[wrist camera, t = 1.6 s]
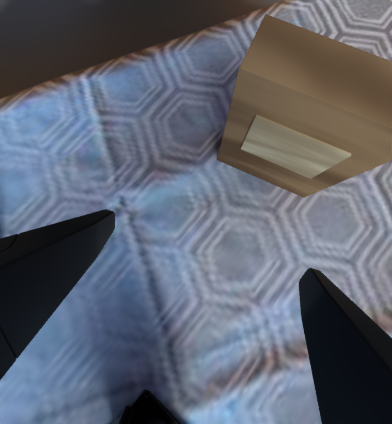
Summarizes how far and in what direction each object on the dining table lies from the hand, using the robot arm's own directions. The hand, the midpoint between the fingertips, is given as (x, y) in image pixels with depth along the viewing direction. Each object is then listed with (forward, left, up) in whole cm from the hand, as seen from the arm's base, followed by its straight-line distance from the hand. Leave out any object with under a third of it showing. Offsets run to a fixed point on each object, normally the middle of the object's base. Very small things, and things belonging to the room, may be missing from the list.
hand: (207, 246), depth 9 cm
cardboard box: (0, -12, -14) cm, 19 cm away
